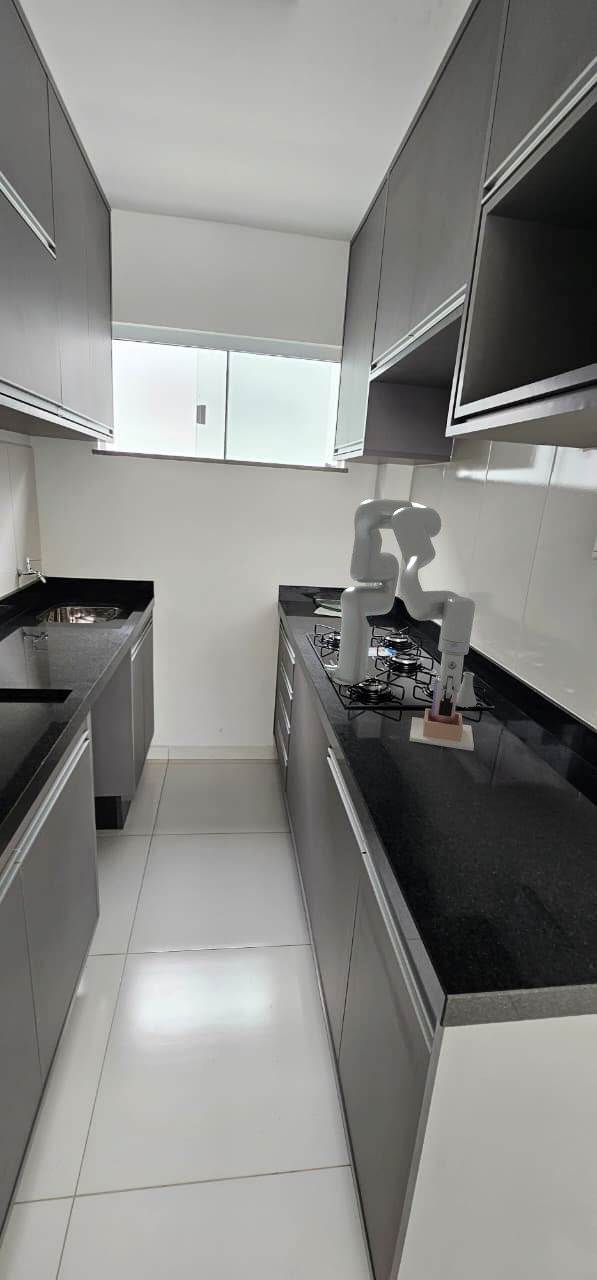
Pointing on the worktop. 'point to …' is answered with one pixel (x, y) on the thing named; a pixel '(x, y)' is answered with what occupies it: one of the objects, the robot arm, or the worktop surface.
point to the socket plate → (442, 732)
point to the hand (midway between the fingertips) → (444, 709)
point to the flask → (466, 692)
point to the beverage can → (436, 703)
